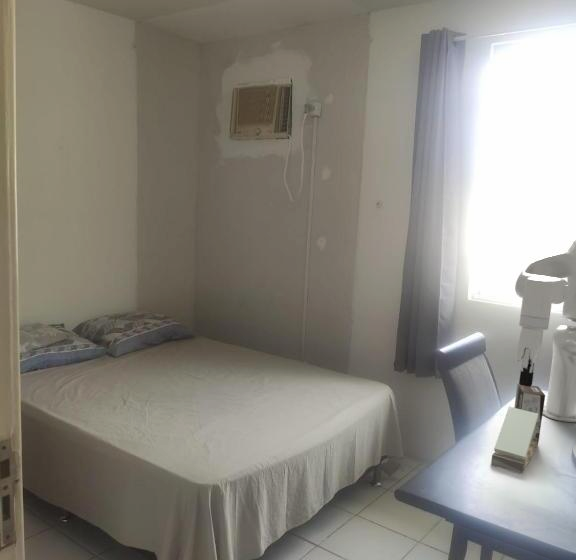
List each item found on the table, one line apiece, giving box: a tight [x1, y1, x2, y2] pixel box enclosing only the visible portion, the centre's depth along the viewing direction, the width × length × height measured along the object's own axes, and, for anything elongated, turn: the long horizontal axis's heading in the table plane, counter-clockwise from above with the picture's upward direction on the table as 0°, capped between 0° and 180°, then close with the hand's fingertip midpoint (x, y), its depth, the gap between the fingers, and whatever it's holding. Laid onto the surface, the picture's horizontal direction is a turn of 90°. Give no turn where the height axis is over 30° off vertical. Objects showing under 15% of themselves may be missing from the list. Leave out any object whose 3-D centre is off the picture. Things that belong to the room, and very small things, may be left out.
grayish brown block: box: [490, 442, 535, 475], centre depth 159 cm, size 18×8×3 cm, turn 147°
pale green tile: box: [493, 406, 538, 460], centre depth 158 cm, size 16×8×2 cm
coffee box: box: [513, 383, 546, 448], centre depth 172 cm, size 9×6×16 cm
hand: (525, 384), depth 160 cm, fingers closed
